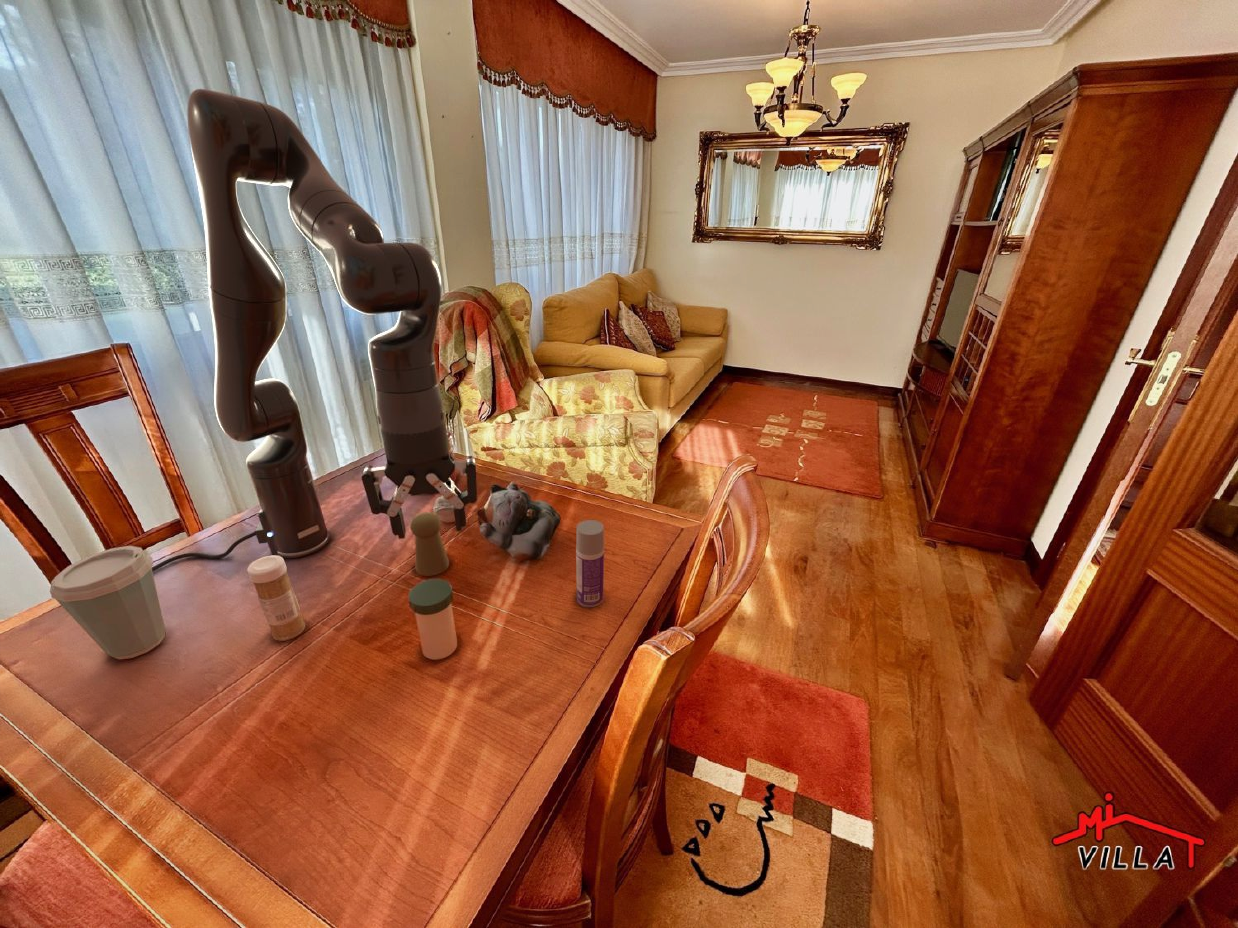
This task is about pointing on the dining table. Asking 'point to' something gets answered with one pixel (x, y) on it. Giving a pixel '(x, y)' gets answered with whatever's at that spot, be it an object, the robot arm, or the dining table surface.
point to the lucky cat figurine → (517, 522)
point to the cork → (428, 544)
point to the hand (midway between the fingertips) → (431, 531)
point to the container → (590, 563)
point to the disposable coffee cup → (114, 600)
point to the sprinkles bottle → (276, 597)
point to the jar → (437, 633)
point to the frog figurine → (444, 510)
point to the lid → (430, 596)
